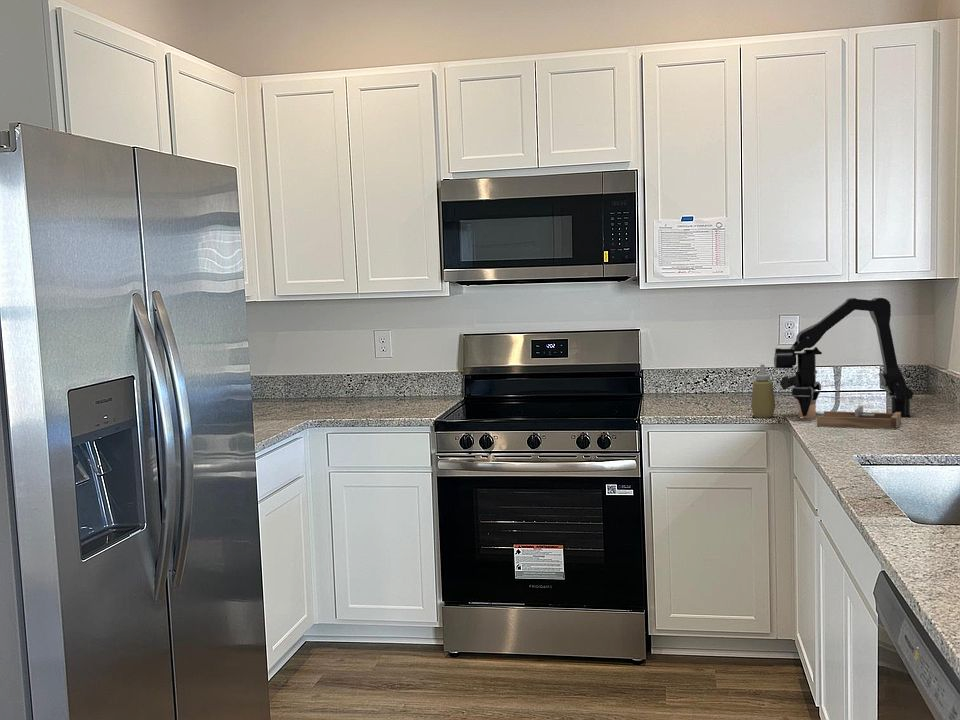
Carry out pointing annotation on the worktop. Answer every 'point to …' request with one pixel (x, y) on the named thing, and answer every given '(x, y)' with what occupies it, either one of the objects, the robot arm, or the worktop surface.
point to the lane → (859, 420)
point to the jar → (811, 410)
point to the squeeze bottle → (763, 395)
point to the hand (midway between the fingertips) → (807, 414)
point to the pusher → (860, 413)
